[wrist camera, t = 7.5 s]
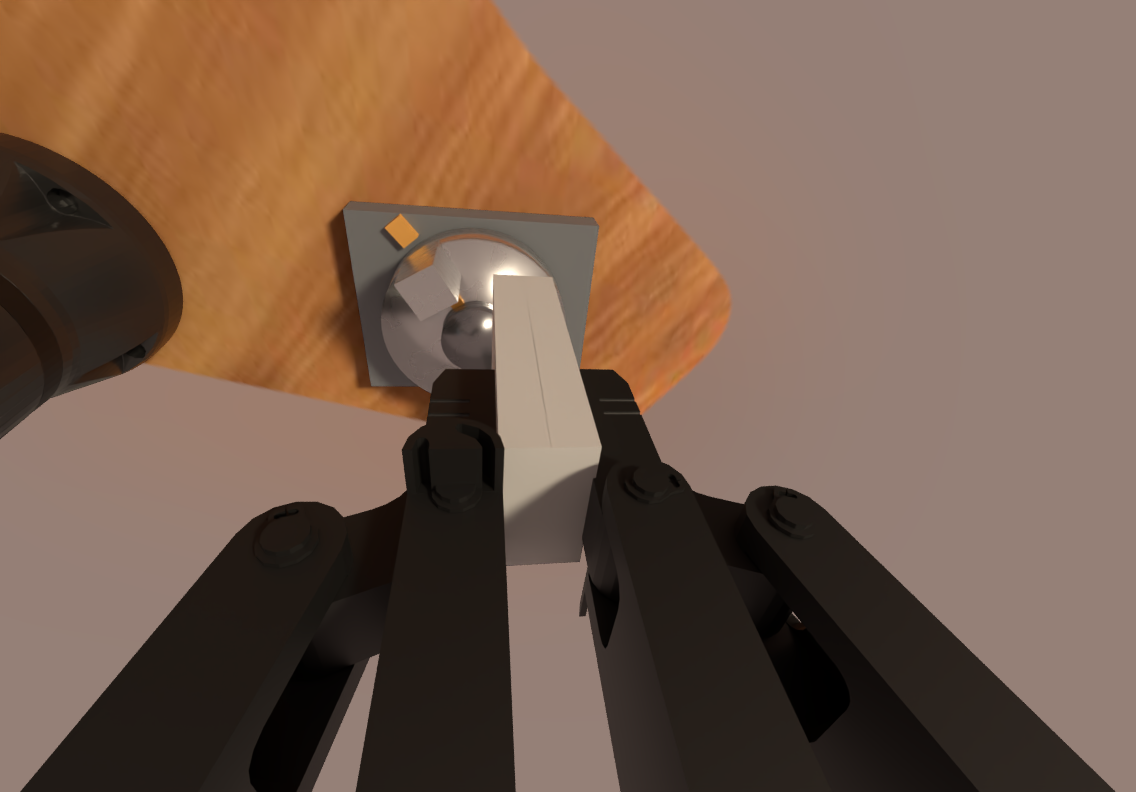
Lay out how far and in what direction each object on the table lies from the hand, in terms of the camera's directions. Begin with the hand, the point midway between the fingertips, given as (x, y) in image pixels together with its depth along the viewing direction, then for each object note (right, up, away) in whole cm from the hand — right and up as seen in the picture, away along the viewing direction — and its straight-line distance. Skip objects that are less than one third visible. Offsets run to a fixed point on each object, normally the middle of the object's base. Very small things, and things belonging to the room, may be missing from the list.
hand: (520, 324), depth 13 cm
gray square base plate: (-5, +5, +23) cm, 24 cm away
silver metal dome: (-5, +4, +21) cm, 22 cm away
